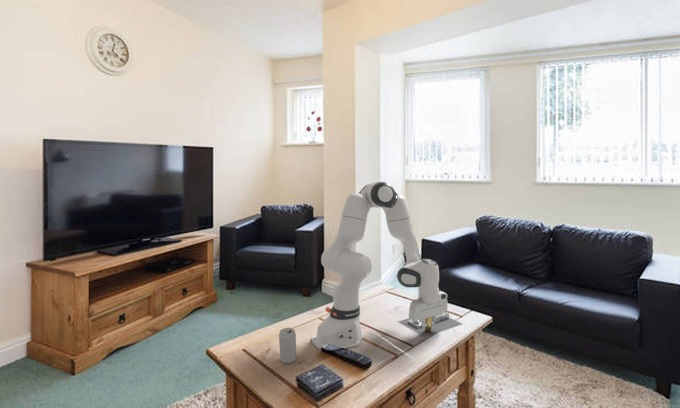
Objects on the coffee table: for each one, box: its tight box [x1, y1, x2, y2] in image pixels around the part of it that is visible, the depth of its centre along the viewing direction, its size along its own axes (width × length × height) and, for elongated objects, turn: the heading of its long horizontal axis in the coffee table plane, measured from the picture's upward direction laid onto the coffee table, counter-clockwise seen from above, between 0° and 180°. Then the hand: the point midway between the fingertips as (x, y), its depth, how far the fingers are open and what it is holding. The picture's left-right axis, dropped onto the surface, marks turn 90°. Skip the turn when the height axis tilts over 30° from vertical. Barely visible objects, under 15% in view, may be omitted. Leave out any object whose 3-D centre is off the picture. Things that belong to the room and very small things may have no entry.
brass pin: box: [425, 317, 432, 333], centre depth 161 cm, size 3×3×8 cm
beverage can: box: [278, 327, 297, 364], centre depth 140 cm, size 6×6×12 cm
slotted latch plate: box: [408, 311, 450, 329], centre depth 172 cm, size 20×7×3 cm, turn 120°
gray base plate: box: [397, 317, 463, 338], centre depth 170 cm, size 24×18×1 cm
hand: (428, 325), depth 161 cm, fingers closed on brass pin, 3 cm apart
